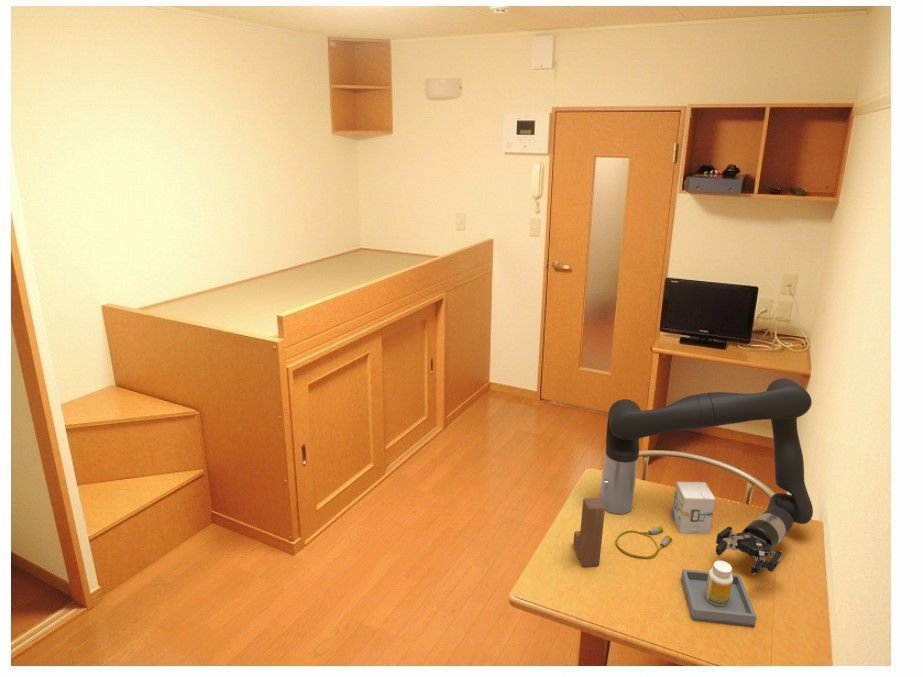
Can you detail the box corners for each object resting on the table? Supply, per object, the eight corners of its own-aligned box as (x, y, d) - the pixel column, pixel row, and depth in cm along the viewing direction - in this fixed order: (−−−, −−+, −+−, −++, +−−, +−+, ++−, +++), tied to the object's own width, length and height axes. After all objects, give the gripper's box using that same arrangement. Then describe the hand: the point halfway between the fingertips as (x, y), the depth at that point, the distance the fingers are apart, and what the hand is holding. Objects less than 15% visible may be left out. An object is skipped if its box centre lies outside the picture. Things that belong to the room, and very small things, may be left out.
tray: (692, 620, 141) (694, 609, 140) (680, 578, 154) (682, 569, 153) (754, 627, 139) (756, 616, 138) (737, 584, 152) (739, 574, 151)
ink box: (670, 514, 179) (675, 480, 175) (700, 515, 178) (706, 481, 174) (679, 533, 171) (684, 497, 167) (710, 534, 170) (716, 498, 166)
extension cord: (680, 560, 161) (681, 553, 160) (621, 561, 160) (622, 554, 160) (664, 530, 172) (665, 524, 172) (609, 531, 172) (609, 525, 171)
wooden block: (572, 544, 166) (577, 487, 159) (588, 543, 166) (594, 486, 160) (582, 567, 157) (588, 508, 151) (599, 566, 158) (605, 507, 151)
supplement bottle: (699, 592, 148) (705, 560, 145) (719, 588, 149) (725, 556, 146) (713, 609, 143) (720, 575, 140) (733, 604, 145) (740, 571, 141)
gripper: (739, 508, 162) (709, 534, 152) (795, 534, 152) (767, 563, 142) (735, 531, 165) (704, 558, 155) (790, 559, 155) (761, 589, 145)
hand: (734, 561), depth 148 cm, fingers open, 8 cm apart
